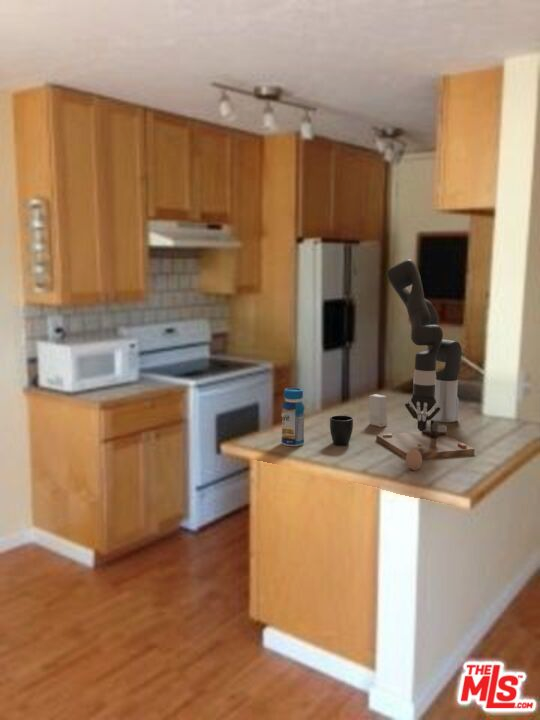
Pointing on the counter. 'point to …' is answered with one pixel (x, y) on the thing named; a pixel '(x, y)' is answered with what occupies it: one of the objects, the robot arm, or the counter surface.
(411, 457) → the egg
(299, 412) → the beverage bottle
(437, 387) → the robot arm
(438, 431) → the crank handle
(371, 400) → the skincare box
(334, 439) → the mug
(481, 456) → the counter surface
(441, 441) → the board
